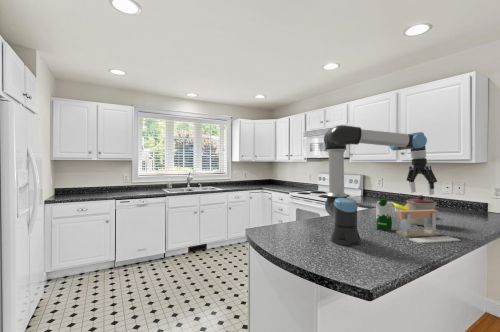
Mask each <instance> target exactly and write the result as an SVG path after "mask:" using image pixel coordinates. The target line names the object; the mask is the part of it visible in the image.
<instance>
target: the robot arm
mask: <svg viewBox="0 0 500 332" xmlns="http://www.w3.org/2000/svg"><path fill="white" fill-rule="evenodd" d="M323 142H324V145H325V151H326V152H327V153H328V181H329V182H328V184H329V185H328V191H329V192H328V193H327V194H326V200H325V203H324V209H325V211H326V213H327V214H328V215H329V216H331V217H332V218H334V220H333V221H334V225H333V226H334V227H333V229H332V233H331V236H330V241H331V242H332V243H334V244H336V245H340V246H346V247H348V246H349V247H352V246H353V247H354V246H359V245H361V237H360V234H359V231H358V203H357V201H356V200H355V199H353V198H349V197H348V195H347V194H346V193H345V163H344V162H345V161H344V160H345V158H344V157H345V154H344V153H345V151H346V150H347V145H357V146H358V145H359V144H366V145H376V146H387V147H389V148H390V150H392V151H403V150H410V157H411V158H410V159H411V166H409V167H408V168H409V170H408V174H407V177H406V181H407V182H409V187H410V193H417V192H416V182H415V180H416V178H417V176H418V175H423V177H424V178H425V179H426V181H427V182H428V183H427V189H428V195H429V196H431V195H435V190H434V189H435V183H437V182H438V180H437V177H436V176H435V174H434V172H433V170H432V166H431V165H427V164H428V162H427V159H428V158H427V151H426V146H427V143H428V138H427V136H426V135H425V133H424V132H422V131H419V132H411V133H401V132H391V131H382V130H381V131H380V130H370V129H362V128H361V127H360V126H351V125H344V124H341V125H336V126H334V127H332V128H329V129H327V131H326V132H325V134H324V136H323Z"/></svg>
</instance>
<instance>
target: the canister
mask: <svg viewBox="0 0 500 332" xmlns="http://www.w3.org/2000/svg"><path fill="white" fill-rule="evenodd" d="M405 202H406V204H408V210H436V205H437V202H436V201H435V200H432V199H428V198H427V199H425V196H424V195H423V194H422V195H421V194H420V195H418V196H417V198H409V199H407V200H406V201H405ZM412 224H413V225H415V226H423V227H424V218H419V219H411V225H412Z"/></svg>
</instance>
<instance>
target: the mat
mask: <svg viewBox="0 0 500 332" xmlns="http://www.w3.org/2000/svg"><path fill="white" fill-rule="evenodd" d="M408 240H409V241H411V242H413V243H417V244H420V245H421V244H435V243H438V244H439V243H451V242H452V241H453V242H461V239H459V238H456V237H452V236H450V235H449V236H448V235H447V236H445V235H443V236H426V237H413V238H412V237H409V238H408Z"/></svg>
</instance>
